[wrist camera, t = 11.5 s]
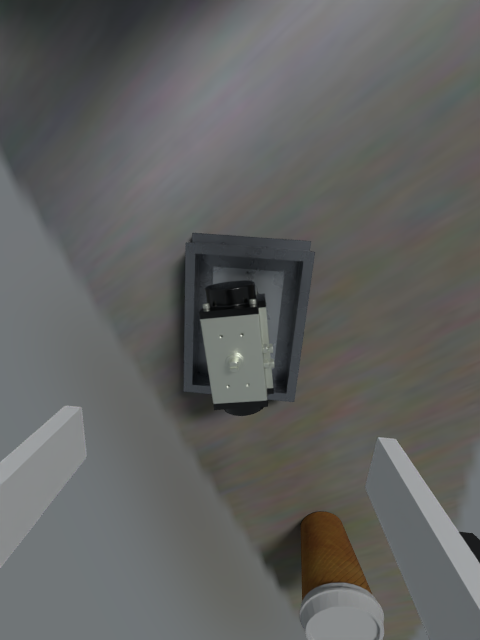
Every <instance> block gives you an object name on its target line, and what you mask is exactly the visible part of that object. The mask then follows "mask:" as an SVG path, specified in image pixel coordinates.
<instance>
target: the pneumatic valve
mask: <svg viewBox="0 0 480 640" xmlns="http://www.w3.org/2000/svg"><path fill="white" fill-rule="evenodd" d="M205 292H206V299H207V303H206V304H203V308H202V309H201V310H200V311H199V315H200V322H201V328H202V335H203V341H204V347H205V354H206V360H207V366H208V373H209V379H210V385H211V392H212V398H213V405H214V410H220V409H224V410H225V411H226V412H227V413H229V414H232V415H236V416H246V415H251V414H254V413H257V412H258V411H260V410H261V409H263V408H264V407H267V406H268V398H267V395H268V394H274V388H273V377H272V368H275V367H274V359H271V355H270V353H273V344H269V333H268V322H267V311H266V300H265V293H264V294H258V292H257V291H256V290H255V282H253V281H247V280H242V281H229V282H222V283H217V284H213V285H210V286H207V287H206V288H205Z"/></svg>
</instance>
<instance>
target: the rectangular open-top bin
mask: <svg viewBox="0 0 480 640" xmlns="http://www.w3.org/2000/svg"><path fill="white" fill-rule="evenodd" d="M310 246H311V241H301V240H287V239H272V238H258V237H244V236H230V235H216V234H202V233H192V242H188V243H186V252H185V327H184V392H195V393H205V394H212V392H211V385H210V379H209V373H208V366H207V360H206V354H205V347H204V341H203V335H202V328H201V322H200V315H199V311H200V310H201V309H202V308H203V304H206V303H207V299H206V292H205V288H206V287H207V286H210V285H213V284H217V283H222V282H229V281H242V280H247V281H253V282H255V290H256V291H257V292H258V294H264V293H265V300H266V311H267V322H268V333H269V344H273V353H270V355H271V359H274V367H275V368H272V377H273V388H274V394H268V395H267V398H268V400H278V401H289V402H294V399H295V392H296V385H297V378H298V371H299V363H300V356H301V349H302V342H303V335H304V328H305V320H306V313H307V306H308V299H309V292H310V285H311V278H312V270H313V263H314V256H315V252H313V251H310Z"/></svg>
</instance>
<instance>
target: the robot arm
mask: <svg viewBox="0 0 480 640" xmlns="http://www.w3.org/2000/svg"><path fill="white" fill-rule="evenodd" d="M86 458H87V453H86V444H85V434H84V425H83V415H82V408H81V407H74V406H64V407H63V408H62V409H61V410H60V411H58V412H57V413H56V414H55V415H54V416H53V417H52V418H50V419H49V420H48V421H47V422H46V423H45V424H44V425H42V426H41V427H40V428H39V429H38V430H37V431H35V432H34V433H33V434H32V435H31V436H30V437H29V438H27V439H26V440H25V441H24V442H23V443H22V444H21V445H19V446H18V447H17V448H16V449H15V450H14V451H13V452H11V453H10V454H9V455H8V456H7V457H6V458H5V459H3V460H2V461H1V462H0V568H1V567H2V565H3V564H4V563H5V562H6V560H7V559H8V558H9V556H10V555H11V554H12V553H13V551H14V550H15V549H16V547H17V546H18V545H19V544H20V542H21V541H22V539H23V538H24V537H25V536H26V535H27V533H28V532H29V531H30V529H31V528H32V527H33V526H34V524H35V523H36V522H37V520H38V519H39V518H40V517H41V515H42V514H43V513H44V511H45V510H46V509H47V508H48V506H49V505H50V504H51V503H52V501H53V500H54V499H55V497H56V496H57V495H58V494H59V492H60V491H61V490H62V488H63V487H64V486H65V484H66V483H67V482H68V481H69V480H70V478H71V477H72V476H73V474H74V473H75V472H76V471H77V469H78V468H79V467H80V465H81V464H82V463H83V462H84V460H85V459H86ZM365 488H366V491H367V493H368V495H369V498H370V500H371V503H372V505H373V507H374V510H375V512H376V514H377V517H378V519H379V521H380V524H381V526H382V529H383V531H384V533H385V536H386V538H387V540H388V543H389V545H390V547H391V550H392V552H393V555H394V557H395V559H396V562H397V564H398V566H399V569H400V571H401V574H402V576H403V578H404V581H405V583H406V585H407V588H408V590H409V592H410V595H411V597H412V600H413V602H414V604H415V607H416V609H417V611H418V614H419V616H420V618H421V621H422V623H423V626H424V628H425V630H426V633H427V635H428V637H429V640H480V540H479V539H478V538H477V537H476V536H475V535H474V534H473V533H465V532H458V530H457V529H456V527H455V526H454V524H453V523H452V521H451V520H450V518H449V517H448V516H447V514H446V513H445V511H444V510H443V508H442V507H441V505H440V504H439V502H438V501H437V499H436V498H435V496H434V495H433V493H432V492H431V490H430V489H429V487H428V486H427V484H426V483H425V481H424V480H423V479H422V477H421V476H420V474H419V473H418V471H417V470H416V468H415V467H414V465H413V464H412V462H411V461H410V459H409V458H408V456H407V455H406V453H405V452H404V450H403V449H402V447H401V446H400V444H399V443H398V441H397V440H396V439H391V438H381V437H378V438H377V442H376V446H375V450H374V454H373V458H372V462H371V466H370V470H369V474H368V478H367V482H366V486H365Z"/></svg>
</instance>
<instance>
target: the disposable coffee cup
mask: <svg viewBox="0 0 480 640" xmlns="http://www.w3.org/2000/svg"><path fill="white" fill-rule="evenodd" d="M301 565H302V604H301V609H300V622H301V624H302V627H303V628H304V629H305V633H306V636H307V639H308V640H382V639H383V636H384V627H383V621H384V614H383V611H382V608H381V606H380V605H379V603H378V602H377V600H376V599H375V598H374V596H373V595H372V593H371V590H370V588H369V586H368V583H367V581H366V579H365V576H364V574H363V571H362V569H361V567H360V564H359V563H358V560H357V557H356V555H355V553H354V550H353V548H352V546H351V543H350V541H349V539H348V536H347V534H346V532H345V529H344V527H343V524H342V522H341V520H340V519H339V518H338V517H337V516H335V515H334V514H331V513H328V512H315V513H312V514H310V515H308V516H306V517H305V518H304V519H303V521H302V523H301Z"/></svg>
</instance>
